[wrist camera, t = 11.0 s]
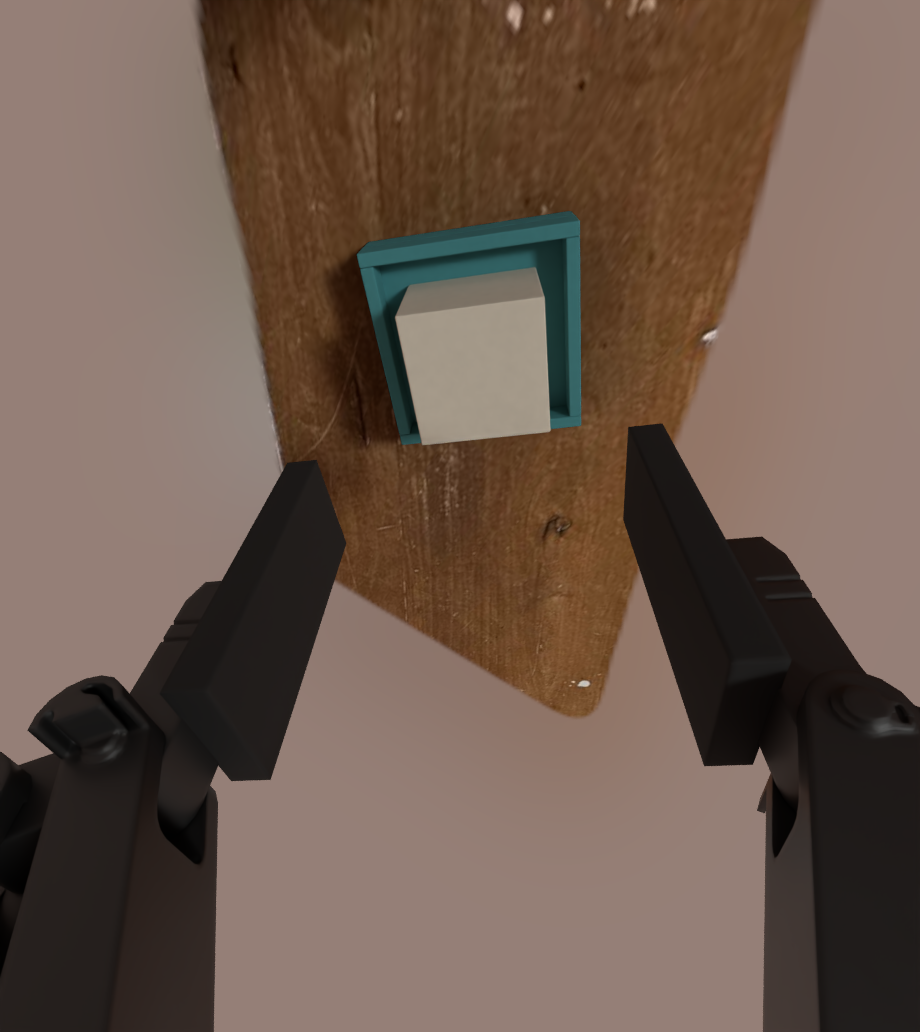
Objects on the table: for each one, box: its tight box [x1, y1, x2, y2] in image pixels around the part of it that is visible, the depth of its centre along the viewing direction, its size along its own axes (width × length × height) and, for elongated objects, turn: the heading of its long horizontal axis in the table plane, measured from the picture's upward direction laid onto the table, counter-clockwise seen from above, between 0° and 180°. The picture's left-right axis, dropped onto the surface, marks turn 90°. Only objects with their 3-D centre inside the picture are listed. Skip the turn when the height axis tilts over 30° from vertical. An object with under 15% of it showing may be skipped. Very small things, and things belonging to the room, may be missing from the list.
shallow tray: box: [357, 211, 581, 445], centre depth 22 cm, size 8×8×2 cm
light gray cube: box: [395, 267, 550, 445], centre depth 21 cm, size 5×5×4 cm
